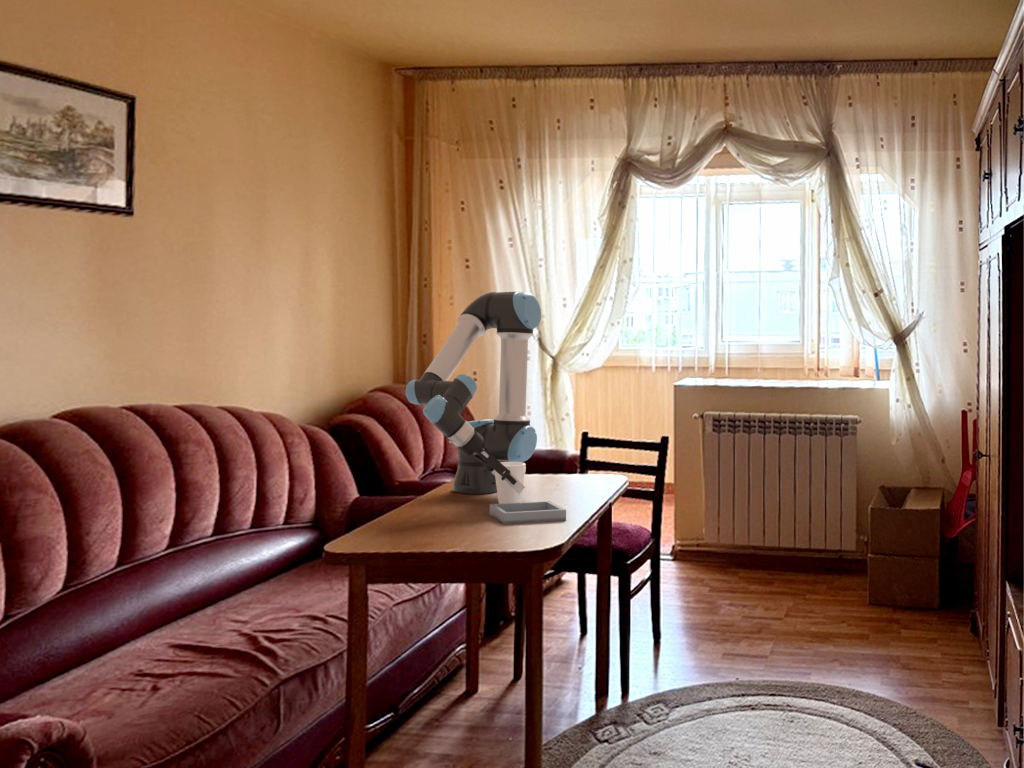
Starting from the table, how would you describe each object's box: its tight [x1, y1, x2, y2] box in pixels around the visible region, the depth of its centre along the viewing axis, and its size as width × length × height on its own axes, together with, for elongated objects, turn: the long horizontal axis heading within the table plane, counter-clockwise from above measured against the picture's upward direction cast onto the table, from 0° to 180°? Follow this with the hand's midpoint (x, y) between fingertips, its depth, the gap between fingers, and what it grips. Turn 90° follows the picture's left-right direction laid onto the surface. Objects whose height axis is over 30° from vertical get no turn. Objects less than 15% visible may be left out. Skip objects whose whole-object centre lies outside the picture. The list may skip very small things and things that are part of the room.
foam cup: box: [494, 461, 527, 504], centre depth 340 cm, size 10×9×13 cm
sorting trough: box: [489, 500, 567, 525], centre depth 323 cm, size 15×18×3 cm
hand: (515, 487), depth 340 cm, fingers open, 13 cm apart
